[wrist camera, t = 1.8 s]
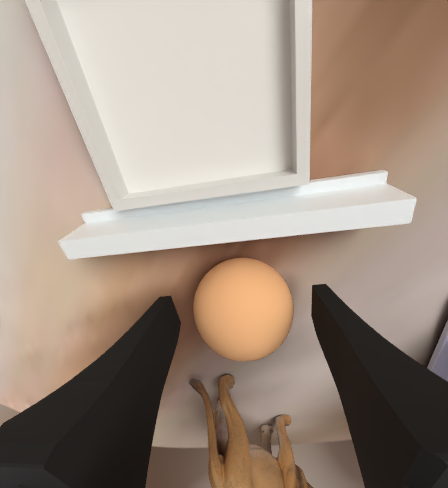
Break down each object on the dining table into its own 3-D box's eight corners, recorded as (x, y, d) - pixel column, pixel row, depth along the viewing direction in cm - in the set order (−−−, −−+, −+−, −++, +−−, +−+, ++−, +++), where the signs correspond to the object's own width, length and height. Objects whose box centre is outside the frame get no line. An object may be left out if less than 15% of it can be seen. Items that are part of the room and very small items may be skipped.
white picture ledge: (376, 211, 11) (407, 234, 9) (101, 243, 13) (73, 267, 11) (383, 169, 10) (420, 184, 8) (85, 211, 12) (52, 232, 10)
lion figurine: (329, 427, 22) (375, 598, 14) (288, 442, 24) (308, 597, 17) (209, 360, 18) (182, 543, 10) (173, 385, 21) (130, 551, 13)
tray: (302, 176, 11) (309, 184, 10) (126, 202, 12) (113, 211, 11) (302, -146, 6) (315, -202, 5) (28, -50, 8) (-9, -79, 7)
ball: (286, 304, 15) (303, 384, 10) (210, 308, 15) (197, 385, 11) (283, 235, 12) (304, 302, 8) (193, 245, 13) (168, 310, 9)
